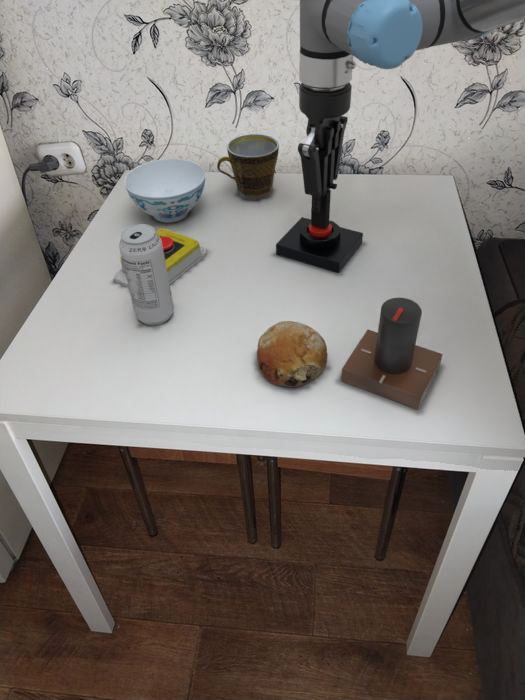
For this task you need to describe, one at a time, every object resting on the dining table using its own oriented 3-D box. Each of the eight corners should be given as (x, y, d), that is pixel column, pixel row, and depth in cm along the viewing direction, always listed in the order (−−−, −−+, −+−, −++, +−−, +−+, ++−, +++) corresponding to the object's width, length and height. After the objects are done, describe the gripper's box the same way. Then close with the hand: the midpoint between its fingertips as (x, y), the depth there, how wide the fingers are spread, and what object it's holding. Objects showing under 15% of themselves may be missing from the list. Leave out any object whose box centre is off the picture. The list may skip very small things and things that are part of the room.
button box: (362, 243, 105) (363, 223, 102) (338, 273, 99) (340, 253, 96) (301, 227, 109) (302, 208, 107) (276, 254, 103) (275, 235, 101)
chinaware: (215, 195, 119) (211, 158, 114) (201, 235, 109) (197, 198, 103) (142, 193, 121) (136, 157, 115) (122, 233, 110) (114, 196, 105)
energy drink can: (182, 310, 93) (168, 228, 83) (157, 332, 90) (139, 250, 79) (153, 298, 96) (136, 217, 85) (128, 319, 92) (107, 237, 82)
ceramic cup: (262, 175, 124) (260, 129, 117) (289, 195, 118) (289, 147, 111) (208, 194, 120) (203, 147, 113) (234, 215, 113) (230, 166, 106)
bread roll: (329, 371, 87) (335, 320, 85) (317, 397, 78) (324, 340, 75) (264, 360, 89) (269, 309, 87) (245, 384, 80) (250, 328, 77)
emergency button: (206, 231, 101) (148, 276, 93) (209, 253, 104) (153, 298, 96) (165, 217, 105) (106, 258, 97) (169, 238, 108) (111, 280, 100)
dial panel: (439, 366, 82) (443, 352, 81) (418, 410, 77) (421, 397, 75) (366, 341, 87) (368, 327, 85) (340, 381, 81) (341, 368, 79)
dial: (382, 343, 82) (389, 291, 76) (416, 355, 80) (427, 302, 74) (368, 366, 79) (375, 313, 73) (404, 379, 77) (414, 326, 71)
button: (335, 232, 103) (335, 223, 101) (325, 243, 100) (325, 235, 99) (314, 226, 104) (314, 218, 103) (304, 238, 102) (304, 229, 100)
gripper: (330, 103, 79) (323, 250, 95) (367, 71, 87) (355, 212, 103) (280, 94, 82) (282, 238, 98) (321, 64, 90) (316, 202, 106)
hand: (320, 224), depth 101 cm, fingers closed
